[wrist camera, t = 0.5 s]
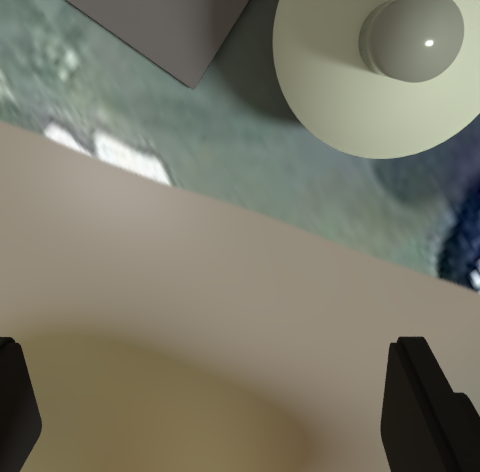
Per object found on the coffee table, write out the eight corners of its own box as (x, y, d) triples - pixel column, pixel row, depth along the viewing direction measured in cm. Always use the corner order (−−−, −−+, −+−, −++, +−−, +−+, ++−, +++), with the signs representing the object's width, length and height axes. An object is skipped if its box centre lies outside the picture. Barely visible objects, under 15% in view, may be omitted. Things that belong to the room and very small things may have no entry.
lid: (379, -167, 25) (412, -226, 20) (566, 5, 28) (641, -5, 23) (227, 70, 30) (219, 76, 25) (398, 195, 33) (426, 226, 28)
